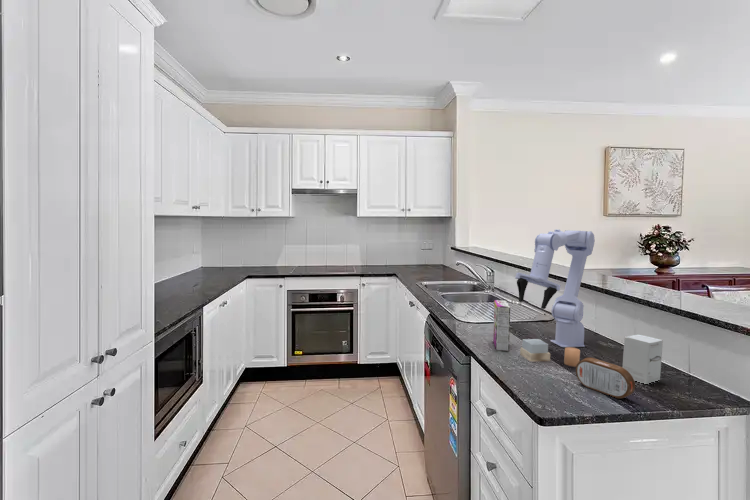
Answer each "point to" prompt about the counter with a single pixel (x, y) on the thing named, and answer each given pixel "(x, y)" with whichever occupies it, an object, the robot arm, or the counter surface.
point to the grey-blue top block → (535, 346)
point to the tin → (605, 377)
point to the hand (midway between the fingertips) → (531, 305)
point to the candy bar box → (501, 325)
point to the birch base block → (534, 356)
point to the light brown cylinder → (571, 356)
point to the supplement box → (643, 358)
